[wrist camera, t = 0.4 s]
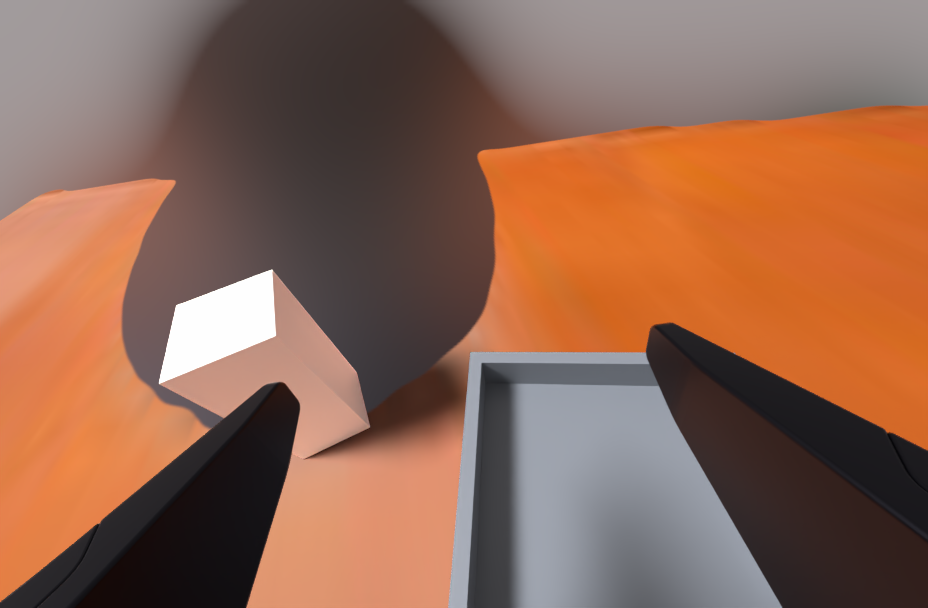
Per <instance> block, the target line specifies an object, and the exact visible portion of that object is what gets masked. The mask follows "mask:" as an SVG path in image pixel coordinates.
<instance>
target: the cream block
mask: <svg viewBox="0 0 928 608" xmlns="http://www.w3.org/2000/svg"><path fill="white" fill-rule="evenodd" d="M275 382H283V383H285V384H286V385H287V386H288V387H289V389H290V390H291V391H292V393H293V394H294V395H295V396H296V398H297V399H298V401H299V403H300V414H299V419H298V424H297V429H296V434H295V439H294V444H293V449H292V454H294V455H296V456H297V457H299V458H301V459H305V458H307V457H309V456H312V455H314V454H316V453H318V452H320V451H322V450H324V449H326V448H328V447H330V446H332V445H335V444H337V443H339V442H341V441H343V440H345V439H347V438H349V437H351V436H353V435H355V434H358V433H360V432H362V431H364V430H366V429H368V428H370V424H369V420H368V416H367V412H366V408H365V403H364V399H363V395H362V392H361V387H360V383H359V379H358V375H357V372H356V371H355V370H354V369H353V367H352V366H351V365H350V364H349V363H348V361H347V360H346V359H345V358H344V356H343V355H342V354H341V353H340V352H339V350H338V349H337V348H336V347H335V346H334V344H333V343H332V342H331V341H330V339H329V338H328V337H327V336H326V335H325V333H324V332H323V331H322V330H321V329H320V327H319V326H318V325H317V324H316V322H315V321H314V320H313V319H312V318H311V316H310V315H309V314H308V313H307V312H306V310H305V309H304V308H303V307H302V306H301V304H300V303H299V302H298V301H297V299H296V298H295V297H294V296H293V295H292V293H291V292H290V291H289V290H288V288H287V287H286V286H285V285H284V283H283V282H282V281H281V280H280V279H279V278H278V276H277V275H276V274H275V273H274V271H273V270H270V271H267V272H264V273H262V274H259V275H256V276H254V277H251V278H248V279H246V280H243V281H240V282H238V283H235V284H232V285H230V286H227V287H224V288H222V289H219V290H216V291H214V292H211V293H208V294H206V295H203V296H200V297H198V298H195V299H192V300H190V301H187V302H184V303H182V304H179V305H177V306H176V310H175V314H174V319H173V323H172V328H171V332H170V336H169V341H168V345H167V350H166V354H165V359H164V363H163V367H162V372H161V376H160V381H159V384H160V385H162V386H164V387H166V388H168V389H170V390H171V391H173V392H175V393H177V394H179V395H181V396H183V397H185V398H187V399H189V400H191V401H192V402H194V403H196V404H198V405H200V406H202V407H204V408H206V409H208V410H210V411H212V412H213V413H215V414H217V415H219V416H221V417H223V418H225V417H226V416H228V415H229V414H230V413H231V412H232V411H234V410H235V409H236V408H237V407H238V406H240V405H241V404H242V403H243V402H244V401H246V400H247V399H248V398H249V397H250V396H252V395H253V394H254V393H255V392H256V391H258V390H259V389H260V388H261V387H262V386H264V385H266V384H268V383H275Z"/></svg>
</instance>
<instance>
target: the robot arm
mask: <svg viewBox="0 0 928 608" xmlns="http://www.w3.org/2000/svg"><path fill="white" fill-rule="evenodd" d="M646 357H647V360H648V362H649V365H650V367H651V369H652V372H653V374H654V376H655V378H656V381H657V383H658V385H659V388H660V390H661V392H662V394H663V397H664V399H665V401H666V404H667V406H668V408H669V410H670V413H671V415H672V417H673V419H674V421H675V423H676V425H677V426H678V428H679V430H680V432H681V434H682V435H683V437H684V439H685V440H686V442H687V444H688V446H689V447H690V449H691V451H692V453H693V454H694V456H695V458H696V460H697V461H698V463H699V465H700V466H701V468H702V470H703V472H704V473H705V475H706V477H707V479H708V480H709V482H710V484H711V485H712V487H713V489H714V491H715V492H716V494H717V496H718V498H719V499H720V501H721V503H722V504H723V506H724V508H725V510H726V511H727V513H728V515H729V517H730V518H731V520H732V522H733V523H734V525H735V527H736V529H737V530H738V532H739V534H740V536H741V537H742V539H743V541H744V542H745V544H746V546H747V548H748V549H749V551H750V553H751V555H752V556H753V558H754V560H755V562H756V563H757V565H758V567H759V568H760V570H761V572H762V574H763V575H764V577H765V579H766V581H767V582H768V584H769V586H770V587H771V589H772V591H773V593H774V594H775V596H776V598H777V600H778V601H779V603H780V605H781V606H782V608H928V450H926V449H924V448H922V447H920V446H918V445H916V444H914V443H912V442H910V441H908V440H906V439H904V438H902V437H900V436H898V435H896V434H894V433H890V432H888V433H887V432H886V431H885V429H883V428H881V427H879V426H877V425H875V424H873V423H871V422H869V421H867V420H865V419H863V418H861V417H859V416H857V415H855V414H853V413H851V412H850V411H848V410H846V409H844V408H842V407H840V406H838V405H836V404H834V403H832V402H830V401H828V400H826V399H824V398H822V397H820V396H818V395H816V394H814V393H812V392H810V391H808V390H806V389H804V388H802V387H800V386H798V385H796V384H794V383H792V382H790V381H788V380H786V379H784V378H782V377H780V376H778V375H776V374H774V373H772V372H770V371H768V370H766V369H764V368H762V367H760V366H758V365H756V364H754V363H752V362H750V361H748V360H746V359H744V358H742V357H740V356H738V355H736V354H734V353H732V352H730V351H728V350H726V349H724V348H722V347H720V346H718V345H716V344H714V343H712V342H710V341H708V340H706V339H704V338H702V337H700V336H698V335H696V334H694V333H692V332H690V331H688V330H686V329H684V328H682V327H680V326H678V325H676V324H674V323H662V324H656V325H653V326H652V327H651V328H650V332H649V337H648V342H647V348H646ZM299 414H300V403H299V401H298V399H297V398H296V396H295V395H294V394H293V393H292V391H291V390H290V389H289V387H288V386H287V385H286V384H285V383H283V382H275V383H268V384H266V385H264V386H262V387H261V388H260V389H259V390H258V391H256V392H255V393H254V394H253V395H252V396H250V397H249V398H248V399H247V400H246V401H244V402H243V403H242V404H241V405H240V406H238V407H237V408H236V409H235V410H234V411H232V412H231V413H230V414H229V415H228V416H226V417H225V418H224V419H223V420H222V421H220V422H219V423H218V424H217V425H216V426H214V427H213V428H212V429H211V430H210V431H208V432H207V433H206V434H205V435H203V436H202V437H201V438H200V439H199V440H197V441H196V442H195V443H194V444H193V445H191V446H190V447H189V448H188V449H187V450H185V451H184V452H183V453H182V454H181V455H179V456H178V457H177V458H176V459H175V460H173V461H172V462H171V463H170V464H169V465H167V466H166V467H165V468H164V469H163V470H161V471H160V472H159V473H158V474H157V475H155V476H154V477H153V478H152V479H151V480H149V481H148V482H147V483H146V484H145V485H143V486H142V487H141V488H140V489H139V490H137V491H136V492H135V493H134V494H133V495H131V496H130V497H129V498H128V499H127V500H125V501H124V502H123V503H122V504H120V505H119V506H118V507H117V508H116V509H114V510H113V511H112V512H111V513H110V514H108V515H107V516H106V517H105V518H104V519H102V521H101V522H100V523H99V524H96V525H95V526H94V527H93V528H91V529H90V530H89V531H88V532H87V533H85V534H84V535H83V536H82V537H81V538H80V539H78V540H77V541H76V542H75V543H74V544H72V545H71V546H70V547H69V548H67V549H66V550H65V551H64V552H62V553H61V554H60V555H59V556H58V557H56V558H55V559H54V560H53V561H51V562H50V563H49V564H48V565H47V566H45V567H44V568H43V569H42V570H40V571H39V572H38V573H37V574H35V575H34V576H33V577H32V578H30V579H29V580H28V581H26V582H25V583H24V584H23V585H21V586H20V587H19V588H18V589H16V590H15V591H14V592H12V593H11V594H10V595H9V596H7V597H6V598H5V599H4V600H2V601H1V602H0V608H246V607H247V604H248V601H249V597H250V594H251V591H252V587H253V584H254V581H255V578H256V574H257V571H258V568H259V564H260V561H261V558H262V555H263V551H264V548H265V545H266V541H267V538H268V535H269V532H270V528H271V525H272V522H273V518H274V515H275V512H276V508H277V505H278V502H279V499H280V495H281V492H282V489H283V485H284V482H285V479H286V475H287V472H288V468H289V463H290V459H291V454H292V449H293V444H294V439H295V434H296V429H297V424H298V419H299Z"/></svg>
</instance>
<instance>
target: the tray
mask: <svg viewBox="0 0 928 608" xmlns="http://www.w3.org/2000/svg"><path fill="white" fill-rule="evenodd" d="M734 354H735V353H734ZM448 608H782V606H781V605H780V603H779V601H778V600H777V598H776V596H775V594H774V593H773V591H772V589H771V587H770V586H769V584H768V582H767V581H766V579H765V577H764V575H763V574H762V572H761V570H760V568H759V567H758V565H757V563H756V562H755V560H754V558H753V556H752V555H751V553H750V551H749V549H748V548H747V546H746V544H745V542H744V541H743V539H742V537H741V536H740V534H739V532H738V530H737V529H736V527H735V525H734V523H733V522H732V520H731V518H730V517H729V515H728V513H727V511H726V510H725V508H724V506H723V504H722V503H721V501H720V499H719V498H718V496H717V494H716V492H715V491H714V489H713V487H712V485H711V484H710V482H709V480H708V479H707V477H706V475H705V473H704V472H703V470H702V468H701V466H700V465H699V463H698V461H697V460H696V458H695V456H694V454H693V453H692V451H691V449H690V447H689V446H688V444H687V442H686V440H685V439H684V437H683V435H682V434H681V432H680V430H679V428H678V426H677V425H676V423H675V421H674V419H673V417H672V415H671V413H670V410H669V408H668V406H667V404H666V401H665V399H664V397H663V394H662V392H661V390H660V388H659V385H658V383H657V381H656V378H655V376H654V374H653V372H652V369H651V367H650V365H649V362H648V360H647V357H646V353H598V352H470V361H469V373H468V385H467V396H466V408H465V420H464V431H463V443H462V455H461V467H460V478H459V490H458V502H457V513H456V525H455V537H454V548H453V560H452V572H451V583H450V595H449V607H448Z"/></svg>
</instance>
